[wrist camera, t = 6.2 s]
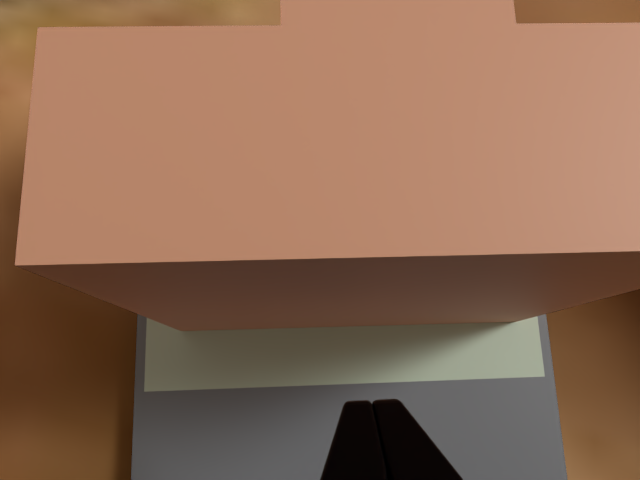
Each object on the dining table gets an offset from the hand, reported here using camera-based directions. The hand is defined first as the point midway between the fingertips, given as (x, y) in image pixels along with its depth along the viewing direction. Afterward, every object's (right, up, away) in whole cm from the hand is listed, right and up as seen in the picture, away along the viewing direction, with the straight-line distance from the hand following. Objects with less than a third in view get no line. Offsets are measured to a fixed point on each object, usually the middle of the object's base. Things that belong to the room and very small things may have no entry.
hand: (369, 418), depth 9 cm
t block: (0, +4, +7) cm, 8 cm away
